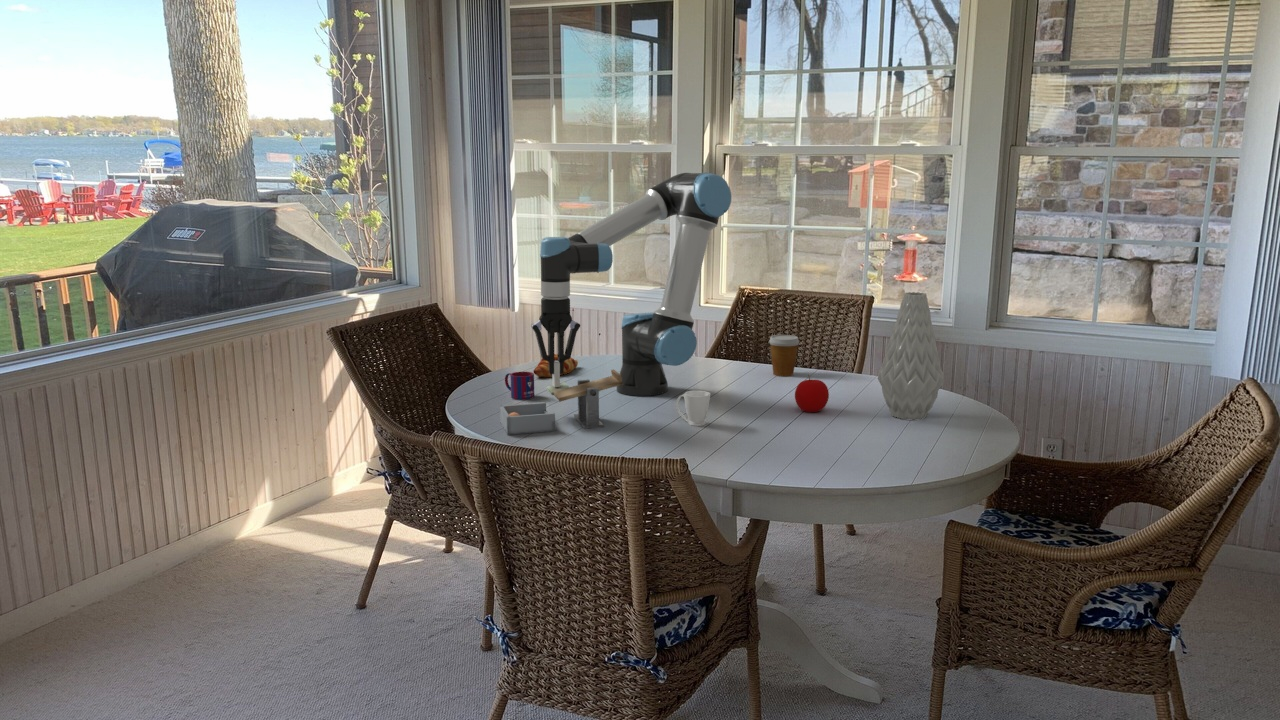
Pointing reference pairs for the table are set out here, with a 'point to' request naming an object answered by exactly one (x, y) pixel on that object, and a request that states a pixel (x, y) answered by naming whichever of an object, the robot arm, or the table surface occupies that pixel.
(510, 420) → the tray
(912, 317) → the vase
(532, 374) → the cup
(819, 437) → the table surface
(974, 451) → the table surface
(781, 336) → the disposable coffee cup
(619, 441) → the table surface
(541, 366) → the croissant
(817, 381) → the fruit
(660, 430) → the table surface
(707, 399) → the cup
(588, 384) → the lever
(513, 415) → the ball
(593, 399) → the fulcrum
